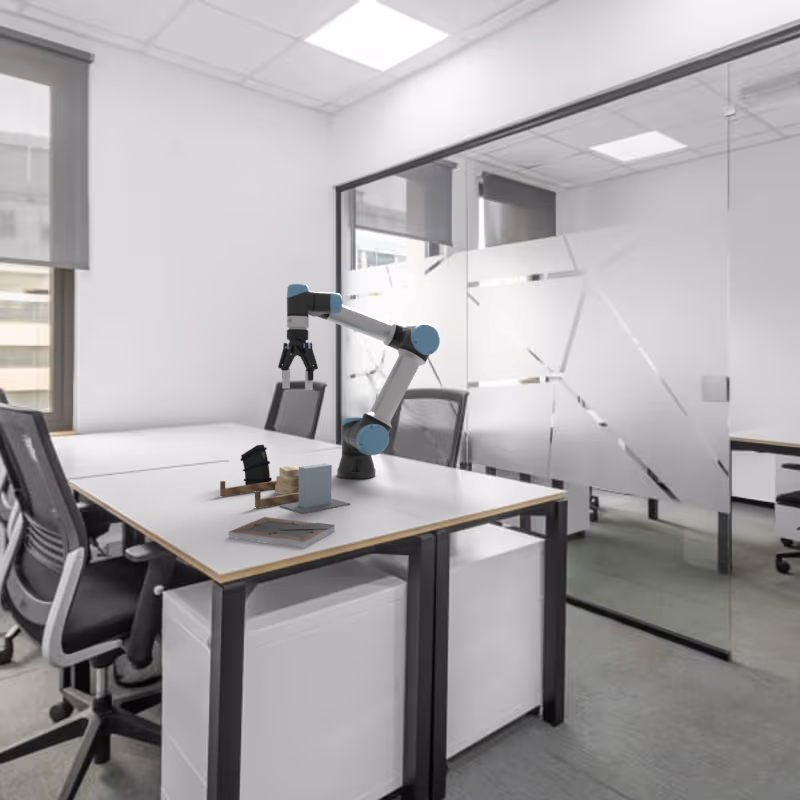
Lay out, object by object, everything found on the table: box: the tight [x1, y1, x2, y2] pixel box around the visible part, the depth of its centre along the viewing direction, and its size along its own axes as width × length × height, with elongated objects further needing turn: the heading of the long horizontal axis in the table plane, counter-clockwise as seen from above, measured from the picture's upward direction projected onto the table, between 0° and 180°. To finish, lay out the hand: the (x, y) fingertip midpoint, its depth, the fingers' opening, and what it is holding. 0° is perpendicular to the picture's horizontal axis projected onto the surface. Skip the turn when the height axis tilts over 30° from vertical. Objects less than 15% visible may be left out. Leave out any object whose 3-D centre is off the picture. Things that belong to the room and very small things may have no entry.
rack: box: [219, 480, 299, 509], centre depth 204 cm, size 26×22×7 cm
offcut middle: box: [276, 475, 299, 489], centre depth 209 cm, size 6×9×3 cm, turn 42°
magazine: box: [240, 444, 273, 485], centre depth 219 cm, size 4×13×15 cm, turn 49°
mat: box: [279, 497, 351, 515], centre depth 192 cm, size 18×12×1 cm, turn 135°
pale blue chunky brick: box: [298, 463, 333, 508], centre depth 192 cm, size 10×4×12 cm, turn 135°
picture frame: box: [227, 516, 336, 549], centre depth 160 cm, size 16×2×22 cm
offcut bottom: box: [274, 485, 299, 495], centre depth 209 cm, size 6×10×3 cm, turn 42°
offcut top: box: [279, 465, 299, 480], centre depth 208 cm, size 5×7×3 cm
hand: (297, 389), depth 219 cm, fingers open, 13 cm apart
